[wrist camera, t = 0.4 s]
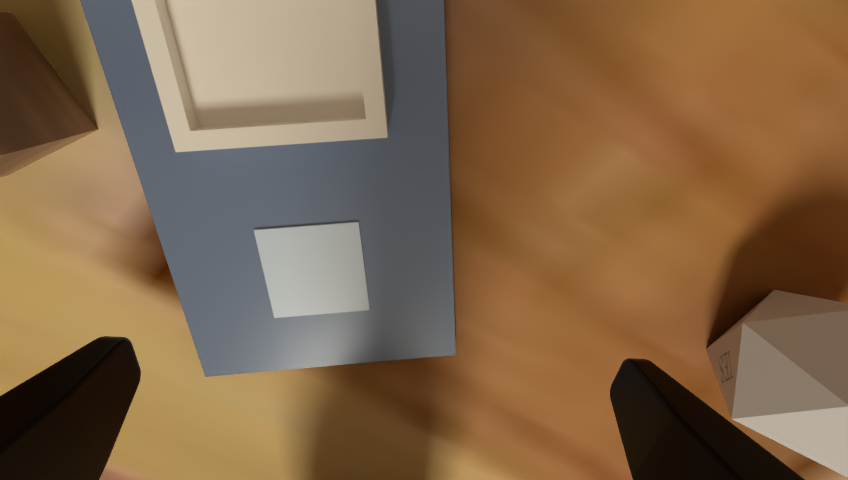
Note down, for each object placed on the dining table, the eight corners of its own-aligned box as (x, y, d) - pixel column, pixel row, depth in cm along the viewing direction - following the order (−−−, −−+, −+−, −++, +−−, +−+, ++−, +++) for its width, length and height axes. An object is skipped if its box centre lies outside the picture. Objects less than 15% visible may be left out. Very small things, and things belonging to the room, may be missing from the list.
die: (668, 290, 26) (720, 476, 21) (864, 239, 20) (995, 477, 15) (714, 322, 30) (764, 479, 26) (882, 289, 25) (985, 481, 20)
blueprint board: (453, 346, 25) (459, 374, 23) (210, 366, 25) (193, 397, 23) (437, -127, 16) (444, -154, 14) (57, -109, 16) (3, -134, 14)
